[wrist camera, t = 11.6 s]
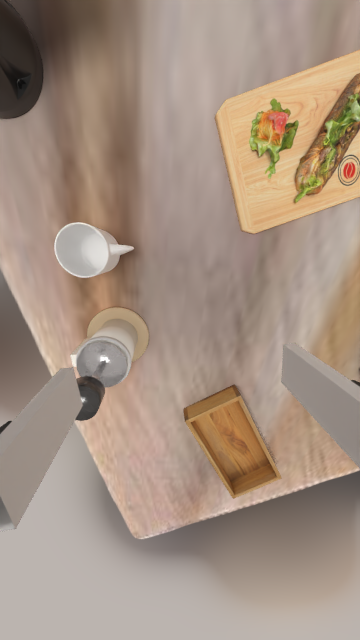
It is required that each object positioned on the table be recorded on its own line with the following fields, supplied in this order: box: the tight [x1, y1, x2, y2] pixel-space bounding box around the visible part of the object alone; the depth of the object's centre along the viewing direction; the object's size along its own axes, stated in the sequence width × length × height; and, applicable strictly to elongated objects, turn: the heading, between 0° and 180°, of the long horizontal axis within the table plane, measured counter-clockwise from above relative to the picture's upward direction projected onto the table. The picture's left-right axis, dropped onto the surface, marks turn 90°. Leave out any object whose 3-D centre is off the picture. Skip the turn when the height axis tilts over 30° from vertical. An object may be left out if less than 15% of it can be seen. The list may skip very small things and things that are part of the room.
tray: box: [184, 385, 281, 499], centre depth 60 cm, size 31×15×6 cm, turn 27°
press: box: [70, 307, 149, 384], centre depth 45 cm, size 14×14×13 cm
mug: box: [54, 222, 134, 278], centre depth 41 cm, size 9×12×11 cm
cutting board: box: [215, 50, 360, 234], centre depth 40 cm, size 35×23×8 cm
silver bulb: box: [75, 342, 128, 421], centre depth 33 cm, size 8×8×11 cm
